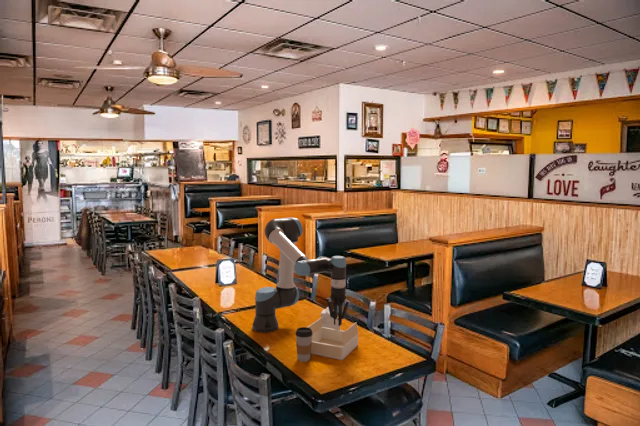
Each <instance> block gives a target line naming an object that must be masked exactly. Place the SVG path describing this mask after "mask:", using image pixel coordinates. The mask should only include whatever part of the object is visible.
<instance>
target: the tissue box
mask: <svg viewBox="0 0 640 426" xmlns="http://www.w3.org/2000/svg"><path fill="white" fill-rule="evenodd" d="M333 311H334V309H333ZM321 317H323V323H322V327H326V328H331V329H335V325H334V318H332V317H330V312H329V307H328V306H327V307H326V308H324V309H322V311H321V312H320V318H321Z"/></svg>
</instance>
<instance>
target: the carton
mask: <svg viewBox="0 0 640 426" xmlns="http://www.w3.org/2000/svg"><path fill="white" fill-rule="evenodd" d="M345 331H346V330H341V329H340V331H339V332H335V329H331V328H326V327H322V328H320V329H319V330H317V331H316V332H315V333H313V334H312V345H311V355H315V356H318V357H319V356H321V357H324V358H329V359H333V360H334V359H335V360H339V361H344V360H345V359H346V358H347V357H348V356H349V355H350V354H351V353H352V352H353V351H354V350H355V349H356V348H357V347H358V346H359V333H358V334H357V335H356V336H355V337H354V338H353V339H351V340H350V341H349V342H348V343H347V344H346V345H345V346H343V342H342V333H343V332H345Z"/></svg>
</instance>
